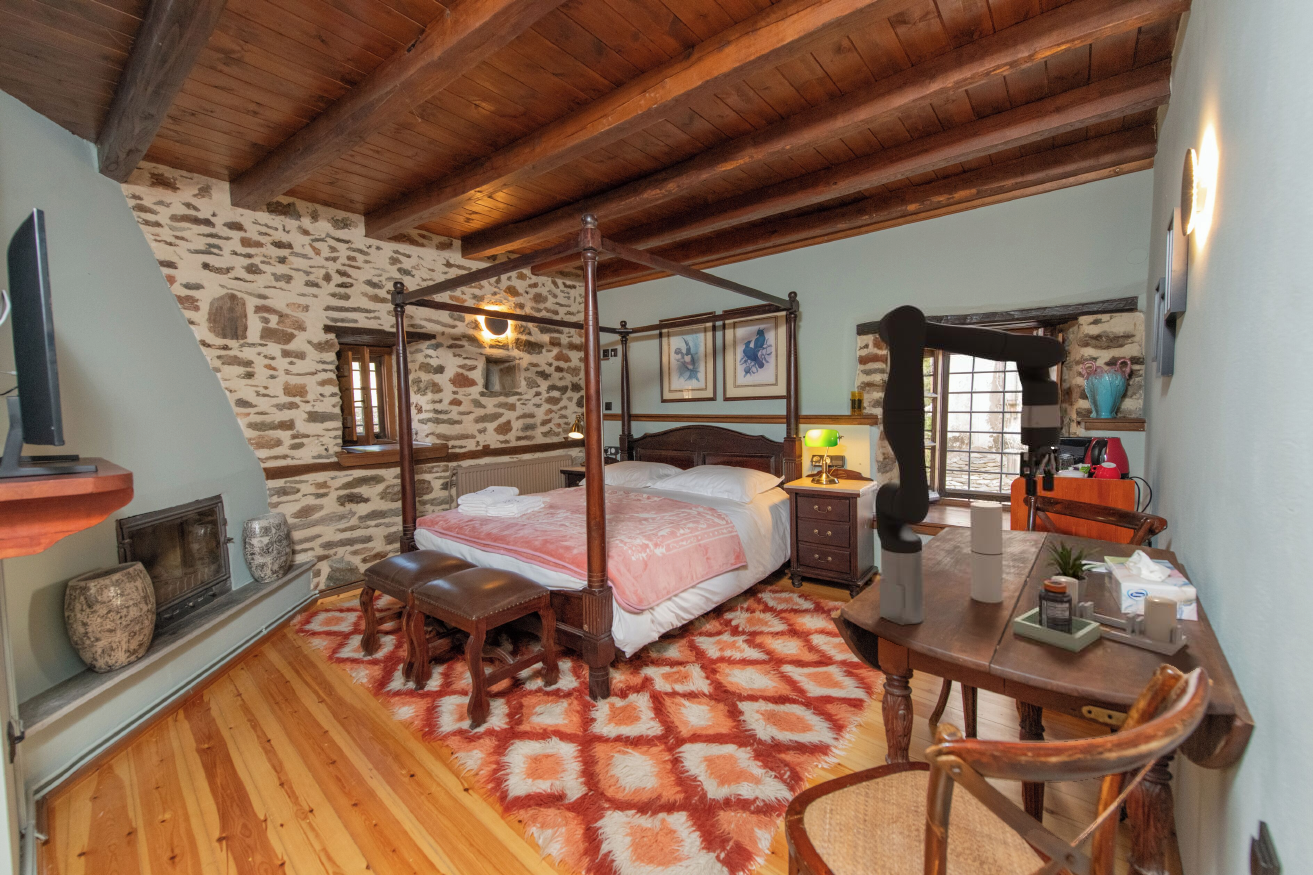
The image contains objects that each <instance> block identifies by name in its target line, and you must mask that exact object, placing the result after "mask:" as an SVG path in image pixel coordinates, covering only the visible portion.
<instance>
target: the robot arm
mask: <svg viewBox="0 0 1313 875" xmlns="http://www.w3.org/2000/svg"><path fill="white" fill-rule="evenodd" d="M876 331H877V335H878V338H879V339H880V341H881V342H882V343H883V344H885V345H886V346H888V352H889V371H888V376H887V381H886V385H885V388H884V392H883V398H882V431H883V433H884V437H885V439H886V441H887V444H888V446H889V447H890V449H891V452H892V453H893V455H894V458H895V460H896V462H897V466H898V473H899V475H898V476H899V477H898V478H899V482H897V481H889V482H885V483H883V484H881V486H880V487H879V488H878V490H877V493H876V495H875V501H874V506H875V508H874V509H875V510H874V511H875V522H876V523H875V524H876V533H877V537H878V539H879V541H880V565H881V566H880V570H881V571H880V572H881V575H880V578H881V579H879V617H880V616H882V617H884V618H886V619H888V620H887V621H889V620H890V621H889V622H892V623H896V624H898V625H900V626H904V625H914V624H915V625H917V624H921V623H922V622H923V621H924V594H923V592H924V591H923V586H924V585H923V540H922V538H921V537H920V535H918V534H917V533H916V532H915V531H913V529H912V528H911V527H910V525H918V524H921V523H923V522H924V521H925V520H926V518H927V516H928V513H929V509H930V490H929V481H928V480H929V479H928V474H927V464H926V463H927V462H926V442H925V439H926V438H925V437H926V436H925V430H926V427H925V426H926V406H925V402H926V401H925V380H924V379H925V377H924V376H925V375H924V374H925V373H924V360H925V359H924V358H925V357H924V356H925V349H926V350H927V349H928V350H936V351H937V350H938V351H942V352H949V353H953V354H959V355H963V356H967V357H972V358H977V359H982V360H988V361H992V362H993V361H994V362H1001V363H1006V362H1010V363H1011V362H1012V363H1015V364H1016V370H1017V374H1018V378H1019V382H1020V385H1021V389H1022V390H1021V410H1020V411H1021V412H1020V444H1021V445H1023V446H1027V447H1028V448H1027V451H1020V453H1019V454H1020V455H1019V478H1023V480H1024V481H1025V482H1024V485H1025V488H1024V489H1025V493H1024V494H1025V496H1027V497H1037V496H1038V478H1039V476H1040V473H1041V474H1042V475H1041V476H1042V477H1041V478H1042V479H1041V480H1042V481H1041V483H1042V485H1041V486H1042V487H1041V489H1042V491H1044V492H1047V493H1052V492H1055V476H1057V473H1059V472H1060V448H1059V447H1057V446H1059V445H1060V444H1061V411H1060V398H1059V396H1060V388H1059V383H1058V382H1057V381H1056V380H1054V379H1052V377H1051V374H1050V373H1051V372H1050V369H1051V368H1054V367H1057V366H1058V365H1060V364H1061V363H1062V362H1063V361H1064V360H1065V359H1066V354H1067V350H1066V346H1065V344H1064V343H1063V342H1062V341H1060V340H1059V339H1057V338H1055V337H1053V336H1047V335H1039V334H1026V333H1015V332H1014V333H1013V332H1010V331H1006V330H1000V329H995V328H989V327H983V326H975V325H974V326H973V325H972V326H971V325H959V324H958V325H957V324H955V325H954V324H946V323H945V324H944V323H937V322H932V321H928V320H927V319H926V315H925V313H924V312H923V311H922V310H921V308H919V307H918V306H916V305H912V304H904V305H900V306H898V307H895V308H894V309H891V311H888V312H887V313H886V314H885V315H883V317H882V318H880V320H879V322H878V324H877V330H876ZM1053 446H1054V447H1053ZM1055 446H1056V447H1055ZM886 619H885V620H886Z"/></svg>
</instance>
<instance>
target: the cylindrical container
mask: <svg viewBox="0 0 1313 875" xmlns="http://www.w3.org/2000/svg"><path fill="white" fill-rule="evenodd" d="M969 506H970V514H969V515H970V516H969V517H970V597H971V598H972V599H973V600H975V601H979V602H982V603H988V604H989V603H991V604H997V603H1002V602H1003V601H1004V600H1003V595H1004V592H1003V591H1004V590H1003V588H1004V587H1003V586H1004V585H1003V579H1004V578H1003V572H1004V571H1003V570H1004V569H1003V566H1004V565H1003V560H1004V559H1003V550H1004V549H1003V546H1004V545H1003V504H1001V503H997V502H992V501H991V502H990V501H976V502H974V501H973V502H970V505H969Z"/></svg>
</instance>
